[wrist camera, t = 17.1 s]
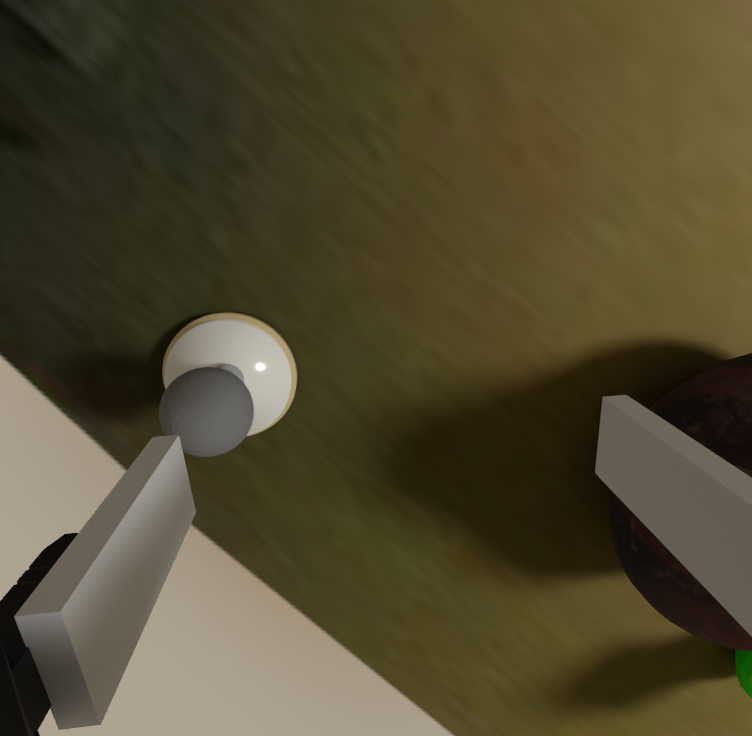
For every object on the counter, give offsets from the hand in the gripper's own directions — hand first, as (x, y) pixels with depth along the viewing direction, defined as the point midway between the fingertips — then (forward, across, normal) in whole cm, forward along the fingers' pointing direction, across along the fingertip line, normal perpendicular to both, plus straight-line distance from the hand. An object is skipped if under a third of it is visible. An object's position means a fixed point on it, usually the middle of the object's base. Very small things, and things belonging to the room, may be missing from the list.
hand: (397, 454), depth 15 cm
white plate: (+26, -11, -6) cm, 29 cm away
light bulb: (+24, -11, -5) cm, 27 cm away
